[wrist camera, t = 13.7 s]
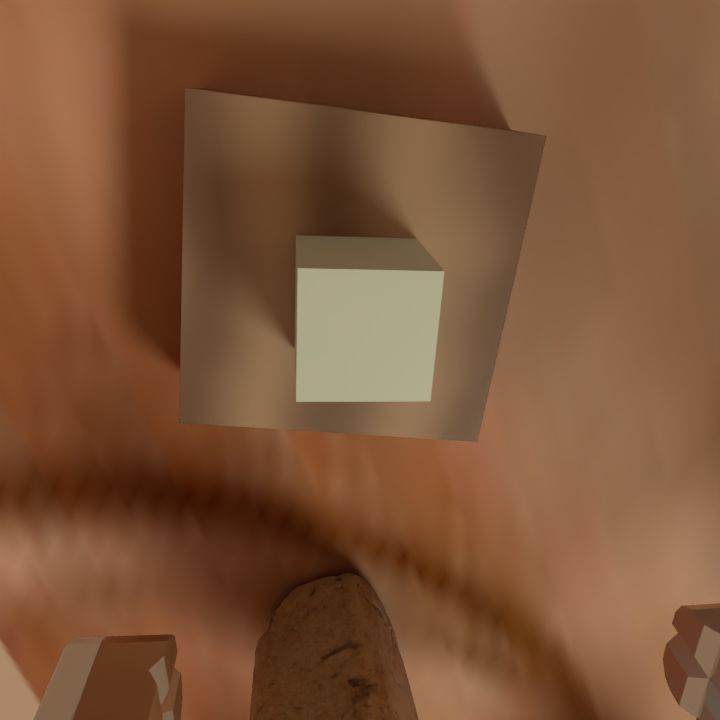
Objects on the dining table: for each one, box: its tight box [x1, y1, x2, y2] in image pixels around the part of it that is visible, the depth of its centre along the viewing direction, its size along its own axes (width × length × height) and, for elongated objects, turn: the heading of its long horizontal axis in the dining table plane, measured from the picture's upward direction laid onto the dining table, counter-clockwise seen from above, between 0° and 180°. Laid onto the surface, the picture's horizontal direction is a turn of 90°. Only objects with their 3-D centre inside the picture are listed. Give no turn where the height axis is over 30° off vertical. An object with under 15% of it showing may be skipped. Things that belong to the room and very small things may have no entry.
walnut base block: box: [179, 88, 546, 442], centre depth 29 cm, size 14×14×5 cm
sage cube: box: [295, 235, 445, 402], centre depth 24 cm, size 5×5×5 cm
